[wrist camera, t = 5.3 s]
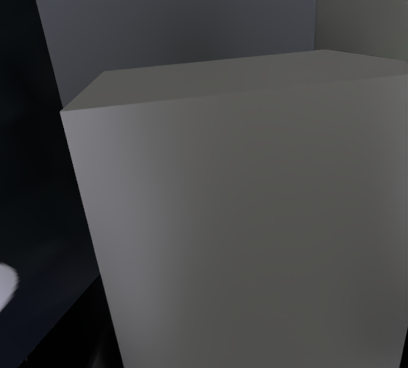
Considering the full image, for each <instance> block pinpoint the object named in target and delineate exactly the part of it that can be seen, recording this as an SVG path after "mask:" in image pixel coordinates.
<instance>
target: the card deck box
mask: <svg viewBox="0 0 408 368" xmlns="http://www.w3.org/2000/svg"><path fill="white" fill-rule="evenodd" d="M60 114H61V118H62V122H63V126H64V130H65V134H66V138H67V142H68V146H69V150H70V154H71V158H72V162H73V166H74V170H75V174H76V178H77V182H78V186H79V190H80V194H81V198H82V202H83V206H84V210H85V214H86V218H87V222H88V226H89V230H90V234H91V238H92V242H93V246H94V250H95V254H96V258H97V262H98V266H99V270H100V274H101V278H102V282H103V286H104V290H105V294H106V298H107V302H108V305H109V309H110V313H111V317H112V321H113V325H114V329H115V333H116V337H117V341H118V345H119V349H120V353H121V357H122V361H123V365H124V368H399V366H400V361H401V356H402V352H403V347H404V342H405V337H406V333H407V328H408V61H404V60H397V59H390V58H383V57H375V56H368V55H361V54H354V53H347V52H340V51H332V50H314V51H304V52H294V53H284V54H274V55H264V56H254V57H243V58H233V59H223V60H213V61H203V62H193V63H183V64H173V65H162V66H152V67H142V68H132V69H122V70H112V71H104V72H102V73H101V74H100V75H99V76H98V77H97V78H96V79H95V80H94V81H93V82H92V83H90V84H89V85H88V86H87V87H86V88H85V89H84V90H83V91H82V92H81V93H80V94H79V95H77V96H76V97H75V98H74V99H73V100H72V101H71V102H70V103H69V104H68V105H67V106H66V107H64V108H63V109H62V110H61V111H60Z"/></svg>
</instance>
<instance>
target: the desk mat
mask: <svg viewBox="0 0 408 368" xmlns="http://www.w3.org/2000/svg"><path fill="white" fill-rule="evenodd" d="M36 2H37V6H38V10H39V14H40V18H41V22H42V26H43V30H44V34H45V38H46V42H47V46H48V50H49V54H50V58H51V62H52V66H53V70H54V74H55V78H56V82H57V86H58V90H59V94H60V98H61V102H62V106H63V108H64V107H66V106H67V105H68V104H69V103H70V102H71V101H72V100H73V99H74V98H75V97H76V96H77V95H79V94H80V93H81V92H82V91H83V90H84V89H85V88H86V87H87V86H88V85H89V84H90V83H92V82H93V81H94V80H95V79H96V78H97V77H98V76H99V75H100V74H101V73H102V72H104V71H112V70H122V69H132V68H142V67H152V66H162V65H173V64H183V63H193V62H203V61H213V60H223V59H233V58H243V57H254V56H264V55H274V54H284V53H294V52H304V51H314V41H315V19H316V0H36Z"/></svg>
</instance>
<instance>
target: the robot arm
mask: <svg viewBox="0 0 408 368" xmlns="http://www.w3.org/2000/svg"><path fill="white" fill-rule="evenodd" d="M17 368H124V365H123V361H122V357H121V353H120V349H119V345H118V341H117V337H116V333H115V329H114V325H113V321H112V317H111V313H110V309H109V305H108V302H107V298H106V294H105V290H104V286H103V282H102V278H101V274H100V275H99V276H98V277H97V278H96V279H95V280H94V282H93V283H92V284H91V285H90V286H89V287H88V288H87V289H86V291H85V292H84V293H83V294H82V295H81V296H80V297H79V299H78V300H77V301H76V302H75V303H74V304H73V305H72V306H71V308H70V309H69V310H68V311H67V312H66V313H65V314H64V316H63V317H62V318H61V319H60V320H59V321H58V322H57V323H56V325H55V326H54V327H53V328H52V329H51V330H50V331H49V332H48V334H47V335H46V336H45V337H44V338H43V339H42V340H41V342H40V343H39V344H38V345H37V346H36V347H35V348H34V349H33V351H32V352H31V353H30V354H29V355H28V356H27V358H26V361H23V362H22V363H21V364H20V365H19V366H18V367H17ZM399 368H408V328H407V333H406V337H405V342H404V347H403V352H402V356H401V361H400V366H399Z"/></svg>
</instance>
